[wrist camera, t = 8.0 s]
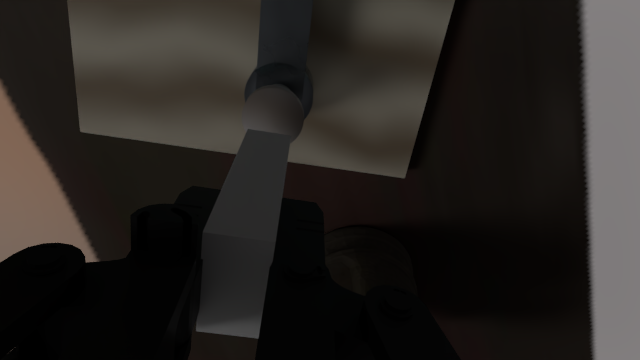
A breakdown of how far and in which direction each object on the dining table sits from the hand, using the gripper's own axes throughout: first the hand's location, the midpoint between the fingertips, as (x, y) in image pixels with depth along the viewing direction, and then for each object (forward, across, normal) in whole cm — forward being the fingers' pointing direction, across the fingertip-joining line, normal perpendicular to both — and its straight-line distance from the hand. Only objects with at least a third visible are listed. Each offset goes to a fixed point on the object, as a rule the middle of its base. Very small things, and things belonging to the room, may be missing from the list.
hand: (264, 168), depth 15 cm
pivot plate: (+18, -2, +3) cm, 18 cm away
